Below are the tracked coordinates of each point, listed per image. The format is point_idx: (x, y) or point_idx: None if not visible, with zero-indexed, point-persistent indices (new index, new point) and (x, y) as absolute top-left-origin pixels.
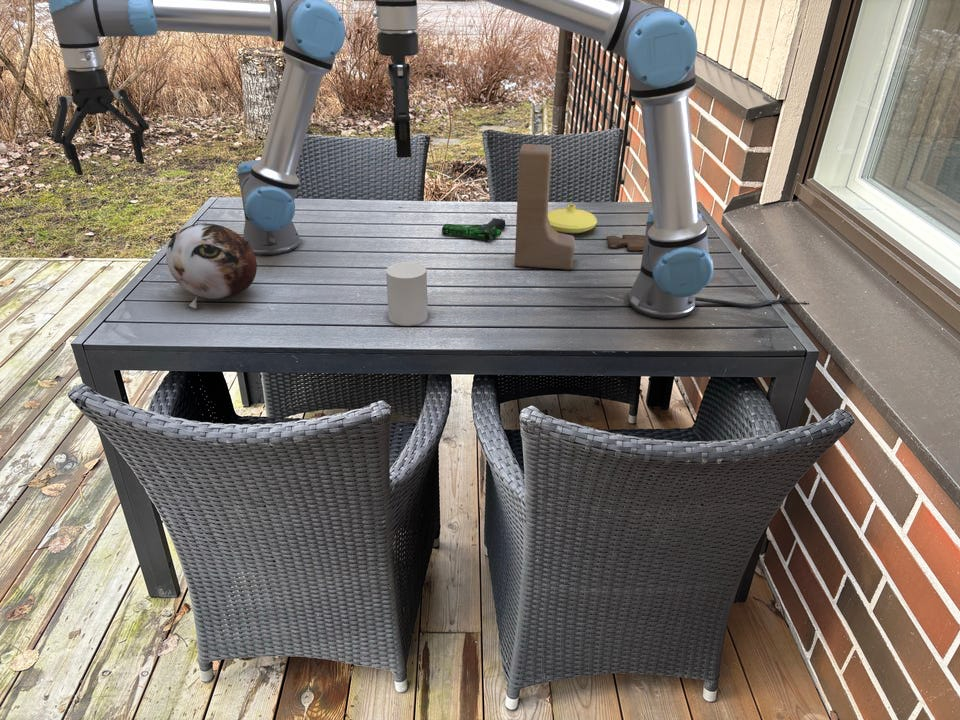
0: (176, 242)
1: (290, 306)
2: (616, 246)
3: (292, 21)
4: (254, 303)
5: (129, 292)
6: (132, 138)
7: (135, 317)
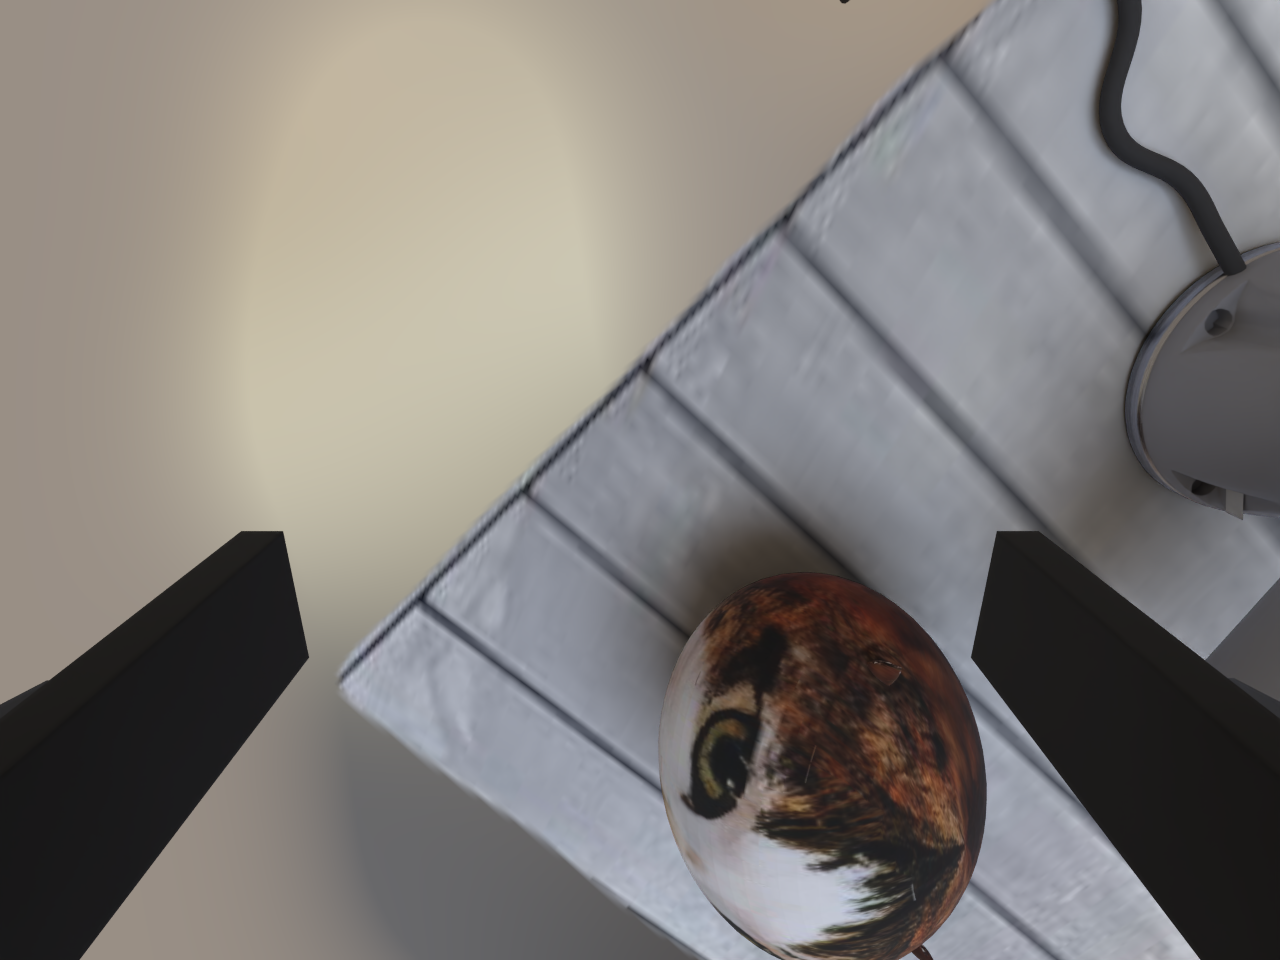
0: (709, 837)
1: None
2: None
3: None
4: None
5: (564, 438)
6: (1230, 810)
7: (510, 634)
